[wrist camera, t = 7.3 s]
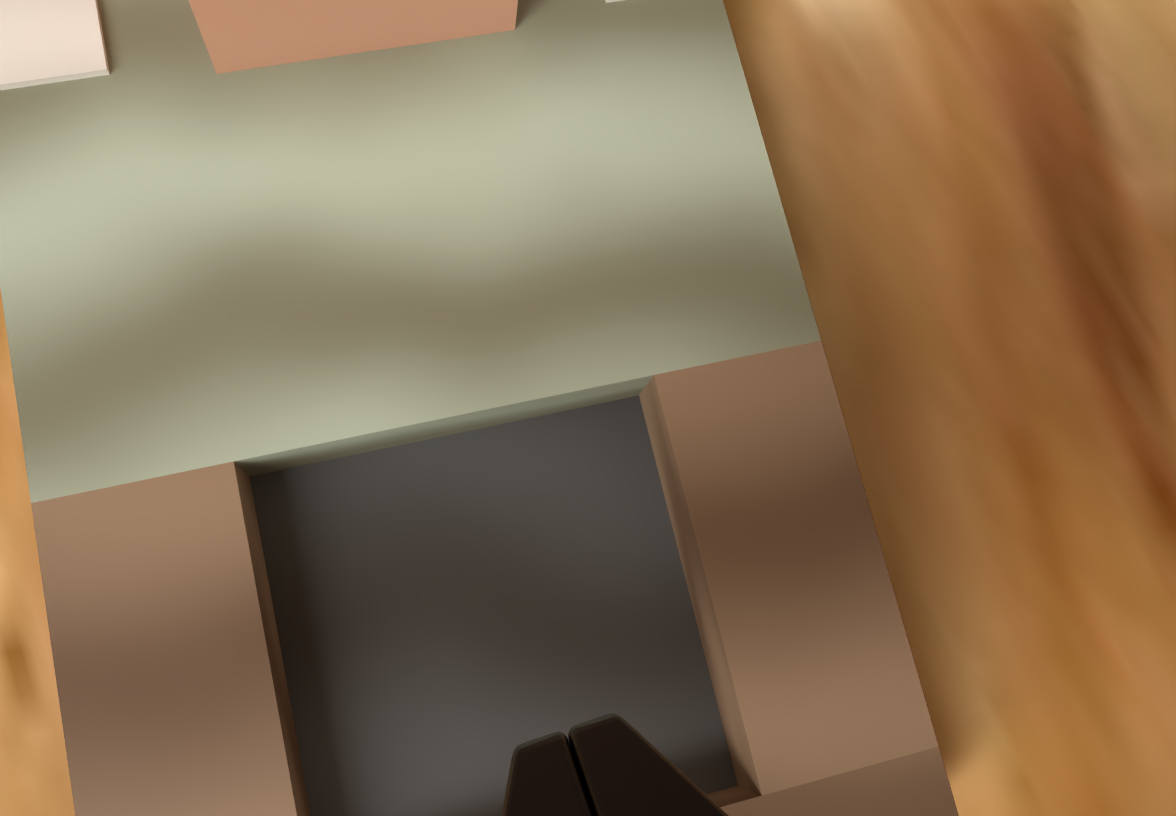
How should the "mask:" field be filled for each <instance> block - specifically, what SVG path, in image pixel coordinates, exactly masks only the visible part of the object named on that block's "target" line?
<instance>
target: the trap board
mask: <svg viewBox="0 0 1176 816" xmlns="http://www.w3.org/2000/svg"><path fill="white" fill-rule="evenodd" d="M0 287H1V294H2V301H3V308H4V315H5V322H6V329H7V336H8V343H9V350H10V357H11V364H12V372H13V379H14V386H15V393H16V400H17V407H18V414H19V421H20V428H21V435H22V442H23V449H24V456H25V463H26V470H27V477H28V484H29V491H30V498H31V505H32V512H33V519H34V526H35V534H36V541H37V548H38V555H39V562H40V569H41V576H42V583H43V590H44V597H45V604H46V611H47V618H48V625H49V632H50V639H51V646H52V653H53V660H54V667H55V674H56V681H57V688H58V696H59V703H60V710H61V717H62V724H63V731H64V738H65V745H66V752H67V759H68V766H69V773H70V780H71V787H72V794H73V801H74V808H75V815H76V816H502V810H503V804H504V799H505V793H506V787H507V781H508V776H509V770H510V764H511V759H512V755H513V752H514V750H515V748H516V747H517V746H518V745H520V744H522V743H525V742H527V741H530V740H533V739H536V738H539V737H542V736H545V735H548V734H551V733H554V732H562V733H564V734H565V735H566V736H567V738H568V733H569V730H570V729H571V728H572V727H573V726H574V725H577V724H580V723H583V722H586V721H589V720H592V719H595V718H597V717H600V716H603V715H606V714H611V713H613V714H617V715H619V716H621V717H622V718H623V719H625V720H626V721H627V722H628V723H629V724H630V725H631V726H632V727H633V728H634V729H636V730H637V731H638V732H639V733H640V734H641V735H642V736H643V737H644V738H645V739H646V740H647V741H649V742H650V743H651V744H652V745H653V746H654V747H655V748H656V749H657V750H658V751H659V752H661V753H662V754H663V755H664V756H665V757H666V758H667V759H668V760H669V761H670V762H671V763H672V764H674V765H675V766H676V767H677V768H678V769H679V770H680V771H681V772H682V773H683V774H684V775H685V776H687V777H688V778H689V779H690V780H691V781H692V782H693V783H694V784H695V785H696V786H697V787H698V788H700V789H701V790H702V791H703V792H704V793H705V794H706V795H707V796H708V797H709V798H710V799H711V800H713V801H714V802H715V803H716V804H717V805H718V806H719V807H720V808H721V809H722V810H723V811H724V812H726V813H727V814H728V815H729V816H959V815H958V812H957V808H956V805H955V801H954V798H953V794H952V791H951V787H950V784H949V780H948V777H947V774H946V770H945V767H944V763H943V760H942V756H941V753H940V749H939V746H938V742H937V739H936V735H935V732H934V729H933V725H932V722H931V718H930V715H929V711H928V708H927V704H926V701H925V697H924V694H923V691H922V687H921V684H920V680H919V677H918V673H917V670H916V666H915V663H914V659H913V656H912V652H911V649H910V646H909V642H908V639H907V635H906V632H905V628H904V625H903V621H902V618H901V614H900V611H899V608H898V604H897V601H896V597H895V594H894V590H893V587H892V583H891V580H890V576H889V573H888V569H887V566H886V563H885V559H884V556H883V552H882V549H881V545H880V542H879V538H878V535H877V531H876V528H875V525H874V521H873V518H872V514H871V511H870V507H869V504H868V500H867V497H866V493H865V490H864V486H863V483H862V480H861V476H860V473H859V469H858V466H857V462H856V459H855V455H854V452H853V448H852V445H851V442H850V438H849V435H848V431H847V428H846V424H845V421H844V417H843V414H842V410H841V407H840V403H839V400H838V397H837V393H836V390H835V386H834V383H833V379H832V376H831V372H830V369H829V365H828V362H827V359H826V355H825V352H824V348H823V345H822V341H821V338H820V334H819V331H818V327H817V324H816V320H815V317H814V314H813V310H812V307H811V303H810V300H809V296H808V293H807V289H806V286H805V282H804V279H803V276H802V272H801V269H800V265H799V262H798V258H797V255H796V251H795V248H794V244H793V241H792V237H791V234H790V231H789V227H788V224H787V220H786V217H785V213H784V210H783V206H782V203H781V199H780V196H779V193H778V189H777V186H776V182H775V179H774V175H773V172H772V168H771V165H770V161H769V158H768V154H767V151H766V148H765V144H764V141H763V137H762V134H761V130H760V127H759V123H758V120H757V116H756V113H755V110H754V106H753V103H752V99H751V96H750V92H749V89H748V85H747V82H746V78H745V75H744V71H743V68H742V65H741V61H740V58H739V54H738V51H737V47H736V44H735V40H734V37H733V33H732V30H731V27H730V23H729V20H728V16H727V13H726V9H725V6H724V2H723V0H518V6H517V15H516V24H515V30H511V31H504V32H497V33H490V34H483V35H477V36H470V37H463V38H456V39H450V40H443V41H436V42H429V43H423V44H416V45H409V46H402V47H395V48H389V49H382V50H375V51H368V52H362V53H355V54H348V55H341V56H335V57H328V58H321V59H314V60H307V61H301V62H294V63H287V64H280V65H274V66H267V67H260V68H253V69H246V70H240V71H233V72H226V73H219V74H216V71H215V68H214V66H213V63H212V61H211V58H210V55H209V53H208V50H207V48H206V45H205V43H204V40H203V37H202V35H201V32H200V30H199V27H198V24H197V22H196V19H195V17H194V14H193V12H192V9H191V6H190V4H189V1H188V0H0ZM568 741H569V739H568Z"/></svg>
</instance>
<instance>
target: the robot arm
mask: <svg viewBox="0 0 1176 816" xmlns="http://www.w3.org/2000/svg"><path fill="white" fill-rule="evenodd" d="M568 739H569V741H568ZM502 816H729V815H728V814H727V813H726V812H724V811H723V810H722V809H721V808H720V807H719V806H718V805H717V804H716V803H715V802H714V801H713V800H711V799H710V798H709V797H708V796H707V795H706V794H705V793H704V792H703V791H702V790H701V789H700V788H698V787H697V786H696V785H695V784H694V783H693V782H692V781H691V780H690V779H689V778H688V777H687V776H685V775H684V774H683V773H682V772H681V771H680V770H679V769H678V768H677V767H676V766H675V765H674V764H672V763H671V762H670V761H669V760H668V759H667V758H666V757H665V756H664V755H663V754H662V753H661V752H659V751H658V750H657V749H656V748H655V747H654V746H653V745H652V744H651V743H650V742H649V741H647V740H646V739H645V738H644V737H643V736H642V735H641V734H640V733H639V732H638V731H637V730H636V729H634V728H633V727H632V726H631V725H630V724H629V723H628V722H627V721H626V720H625V719H623V718H622V717H621V716H619V715H617V714H613V713H611V714H606V715H603V716H600V717H597V718H595V719H592V720H589V721H586V722H583V723H580V724H577V725H574V726H573V727H572V728H571V729H570V730H569V733H568V738H567V736H566V735H565V734H564V733H562V732H554V733H551V734H548V735H545V736H542V737H539V738H536V739H533V740H530V741H527V742H525V743H522V744H520V745H518V746H517V747H516V748H515V750H514V752H513V755H512V759H511V764H510V770H509V776H508V781H507V787H506V793H505V799H504V804H503V810H502Z"/></svg>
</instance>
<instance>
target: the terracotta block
mask: <svg viewBox="0 0 1176 816" xmlns="http://www.w3.org/2000/svg"><path fill="white" fill-rule="evenodd" d="M188 1H189V4H190V6H191V9H192V12H193V14H194V17H195V19H196V22H197V24H198V27H199V30H200V32H201V35H202V37H203V40H204V43H205V45H206V48H207V50H208V53H209V55H210V58H211V61H212V63H213V66H214V68H215V71H216V74H219V73H226V72H233V71H240V70H246V69H253V68H260V67H267V66H274V65H280V64H287V63H294V62H301V61H307V60H314V59H321V58H328V57H335V56H341V55H348V54H355V53H362V52H368V51H375V50H382V49H389V48H395V47H402V46H409V45H416V44H423V43H429V42H436V41H443V40H450V39H456V38H463V37H470V36H477V35H483V34H490V33H497V32H504V31H511V30H515V24H516V15H517V6H518V0H188Z"/></svg>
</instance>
